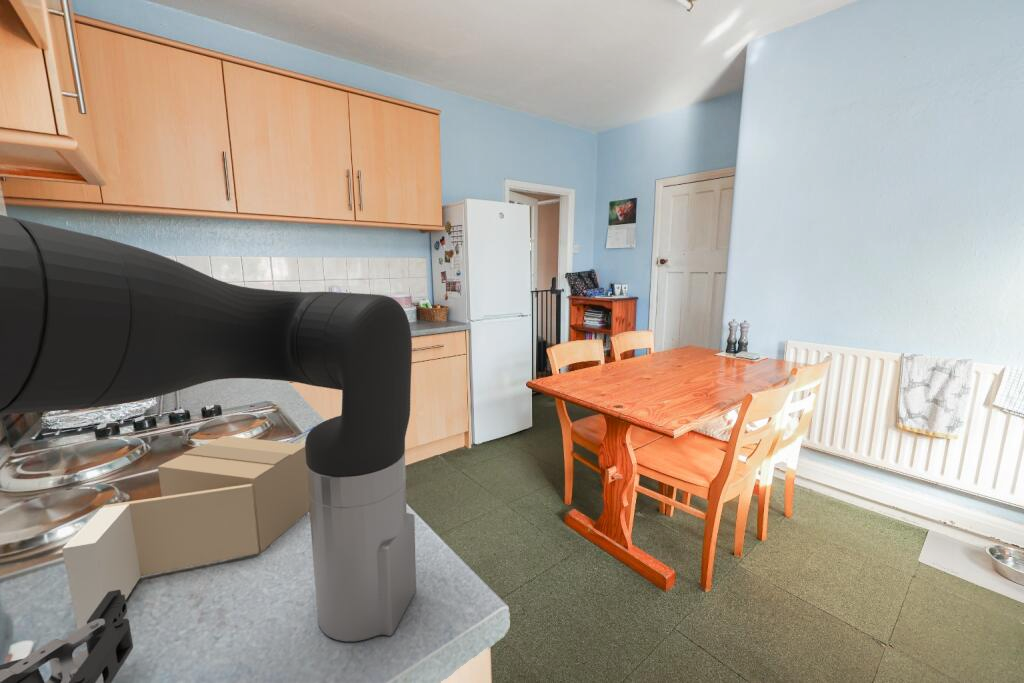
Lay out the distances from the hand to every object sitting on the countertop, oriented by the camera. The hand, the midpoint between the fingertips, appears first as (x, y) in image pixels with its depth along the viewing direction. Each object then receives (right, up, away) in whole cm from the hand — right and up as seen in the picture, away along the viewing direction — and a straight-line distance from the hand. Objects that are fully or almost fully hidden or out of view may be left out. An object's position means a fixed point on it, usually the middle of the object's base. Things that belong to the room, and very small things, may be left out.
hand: (53, 611), depth 36 cm
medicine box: (+6, -1, +34) cm, 34 cm away
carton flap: (+2, -4, +11) cm, 12 cm away
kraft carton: (+1, -2, +23) cm, 24 cm away
